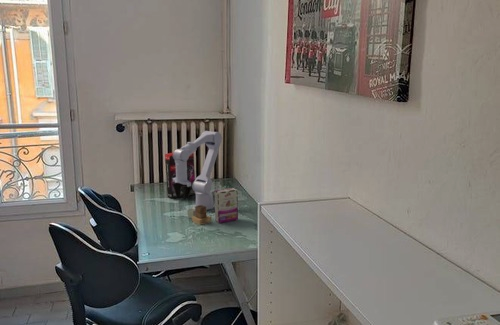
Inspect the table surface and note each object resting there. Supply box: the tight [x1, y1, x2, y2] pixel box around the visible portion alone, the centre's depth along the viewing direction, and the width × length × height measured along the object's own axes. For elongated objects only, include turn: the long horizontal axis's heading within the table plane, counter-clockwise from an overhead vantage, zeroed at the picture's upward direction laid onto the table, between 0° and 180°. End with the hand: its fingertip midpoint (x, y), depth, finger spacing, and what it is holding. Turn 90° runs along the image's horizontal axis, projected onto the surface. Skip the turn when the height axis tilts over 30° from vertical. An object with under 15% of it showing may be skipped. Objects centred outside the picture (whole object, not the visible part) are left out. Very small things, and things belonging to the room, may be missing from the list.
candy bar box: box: [213, 187, 239, 224], centre depth 222 cm, size 11×5×16 cm, turn 118°
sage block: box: [187, 207, 196, 219], centre depth 229 cm, size 4×4×4 cm
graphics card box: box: [164, 152, 196, 200], centre depth 265 cm, size 17×7×27 cm, turn 129°
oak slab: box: [191, 214, 212, 226], centre depth 222 cm, size 7×7×3 cm
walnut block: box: [194, 205, 208, 219], centre depth 221 cm, size 4×4×6 cm
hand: (182, 197), depth 229 cm, fingers open, 7 cm apart
